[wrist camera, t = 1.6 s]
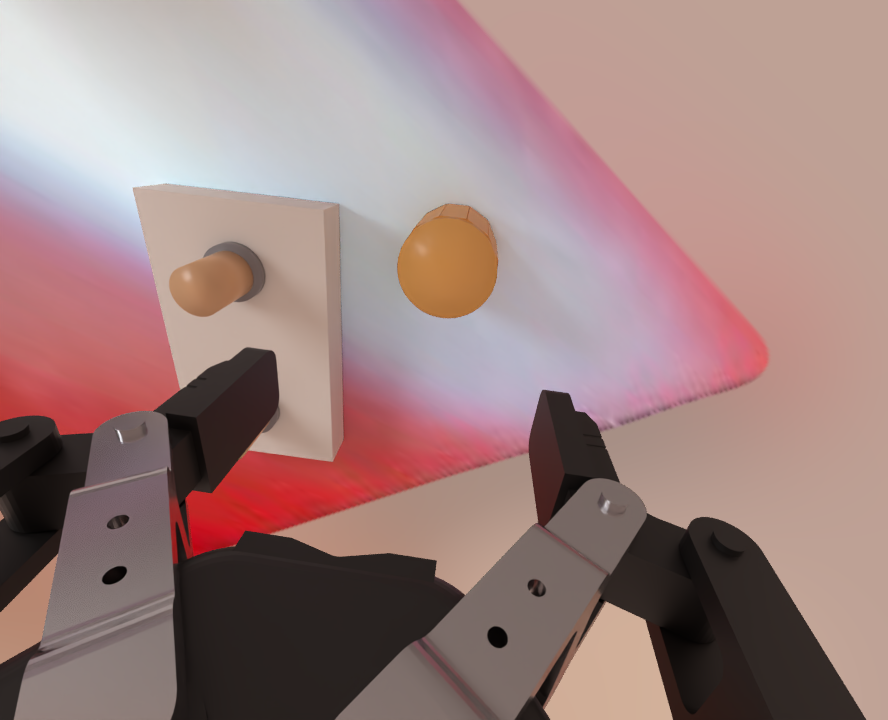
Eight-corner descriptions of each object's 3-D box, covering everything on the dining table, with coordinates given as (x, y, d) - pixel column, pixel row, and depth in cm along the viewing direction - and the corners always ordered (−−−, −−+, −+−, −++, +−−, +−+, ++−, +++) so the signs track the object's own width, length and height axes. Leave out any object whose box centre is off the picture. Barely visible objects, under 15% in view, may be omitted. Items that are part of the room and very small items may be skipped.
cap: (416, 200, 27) (399, 213, 22) (501, 209, 27) (505, 225, 22) (411, 282, 30) (395, 312, 25) (488, 291, 30) (489, 323, 24)
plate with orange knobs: (165, 183, 28) (67, 195, 22) (339, 203, 28) (293, 222, 21) (213, 421, 38) (155, 480, 31) (343, 439, 37) (312, 503, 31)
